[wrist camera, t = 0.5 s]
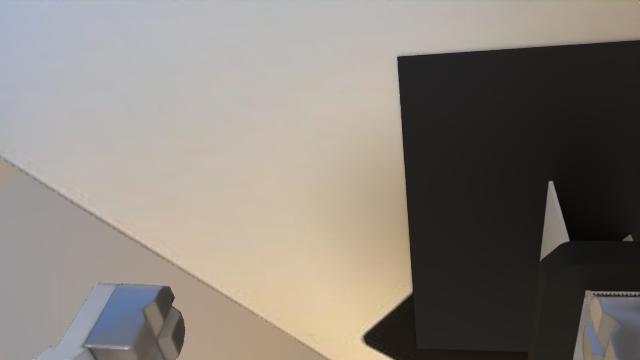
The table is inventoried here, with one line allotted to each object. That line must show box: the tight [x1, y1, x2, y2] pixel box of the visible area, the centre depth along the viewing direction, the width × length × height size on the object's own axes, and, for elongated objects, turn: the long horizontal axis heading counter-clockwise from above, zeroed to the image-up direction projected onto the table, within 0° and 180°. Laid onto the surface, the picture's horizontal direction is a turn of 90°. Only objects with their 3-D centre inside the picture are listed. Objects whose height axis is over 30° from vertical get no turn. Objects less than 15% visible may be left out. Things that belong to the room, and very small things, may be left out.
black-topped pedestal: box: [397, 40, 640, 360], centre depth 36 cm, size 28×26×13 cm
